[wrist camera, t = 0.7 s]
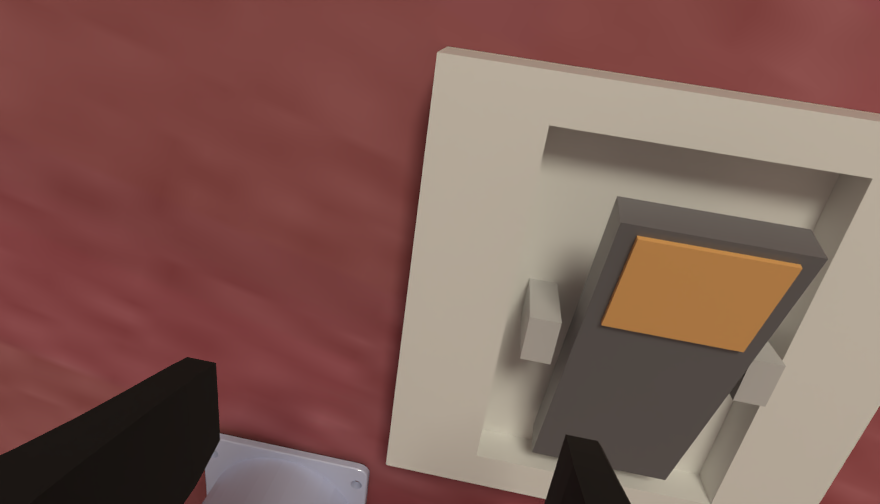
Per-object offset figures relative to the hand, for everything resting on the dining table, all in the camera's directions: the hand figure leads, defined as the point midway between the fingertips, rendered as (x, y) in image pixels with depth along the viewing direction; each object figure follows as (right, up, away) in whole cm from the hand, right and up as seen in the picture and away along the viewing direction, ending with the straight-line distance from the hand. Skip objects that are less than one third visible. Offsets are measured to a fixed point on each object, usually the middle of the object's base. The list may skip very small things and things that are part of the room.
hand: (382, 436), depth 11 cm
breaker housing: (+8, +2, +9) cm, 13 cm away
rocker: (+8, +1, +7) cm, 11 cm away
